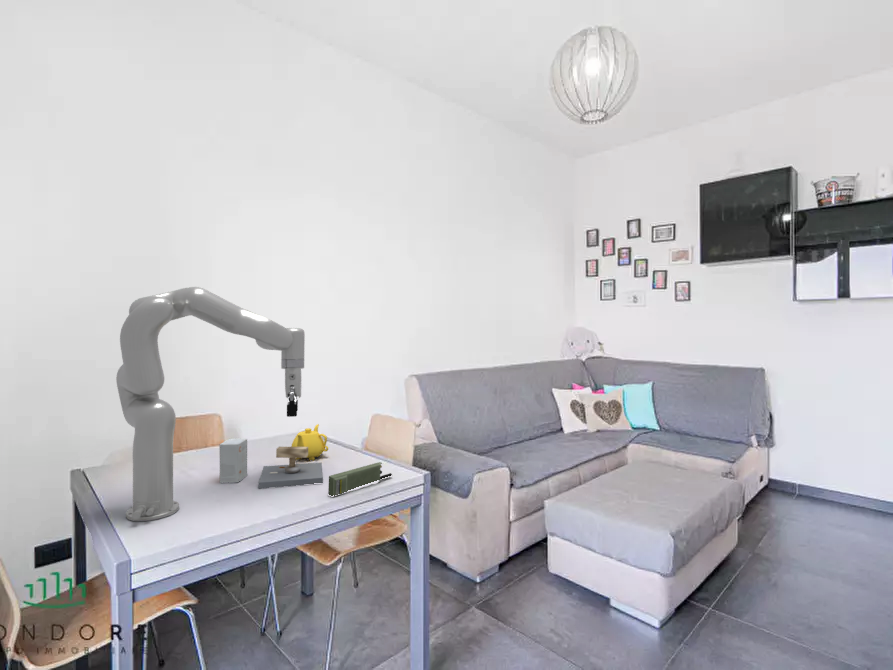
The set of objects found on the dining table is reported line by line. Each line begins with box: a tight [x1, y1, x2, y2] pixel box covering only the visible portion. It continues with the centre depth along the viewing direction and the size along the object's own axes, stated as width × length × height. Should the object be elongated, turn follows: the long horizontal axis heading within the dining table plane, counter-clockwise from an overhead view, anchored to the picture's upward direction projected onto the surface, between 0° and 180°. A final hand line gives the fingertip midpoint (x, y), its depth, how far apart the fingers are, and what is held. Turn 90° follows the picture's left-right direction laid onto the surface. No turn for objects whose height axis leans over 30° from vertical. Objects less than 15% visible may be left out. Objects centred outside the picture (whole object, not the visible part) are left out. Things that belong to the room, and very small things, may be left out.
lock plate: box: [257, 462, 324, 489], centre depth 162 cm, size 18×20×2 cm
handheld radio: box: [327, 461, 393, 496], centre depth 154 cm, size 7×3×25 cm
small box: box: [219, 438, 248, 484], centre depth 159 cm, size 8×6×13 cm
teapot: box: [290, 423, 329, 461], centre depth 186 cm, size 20×15×12 cm
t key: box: [275, 446, 308, 473], centre depth 162 cm, size 10×5×8 cm, turn 91°
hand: (292, 413), depth 161 cm, fingers open, 9 cm apart
